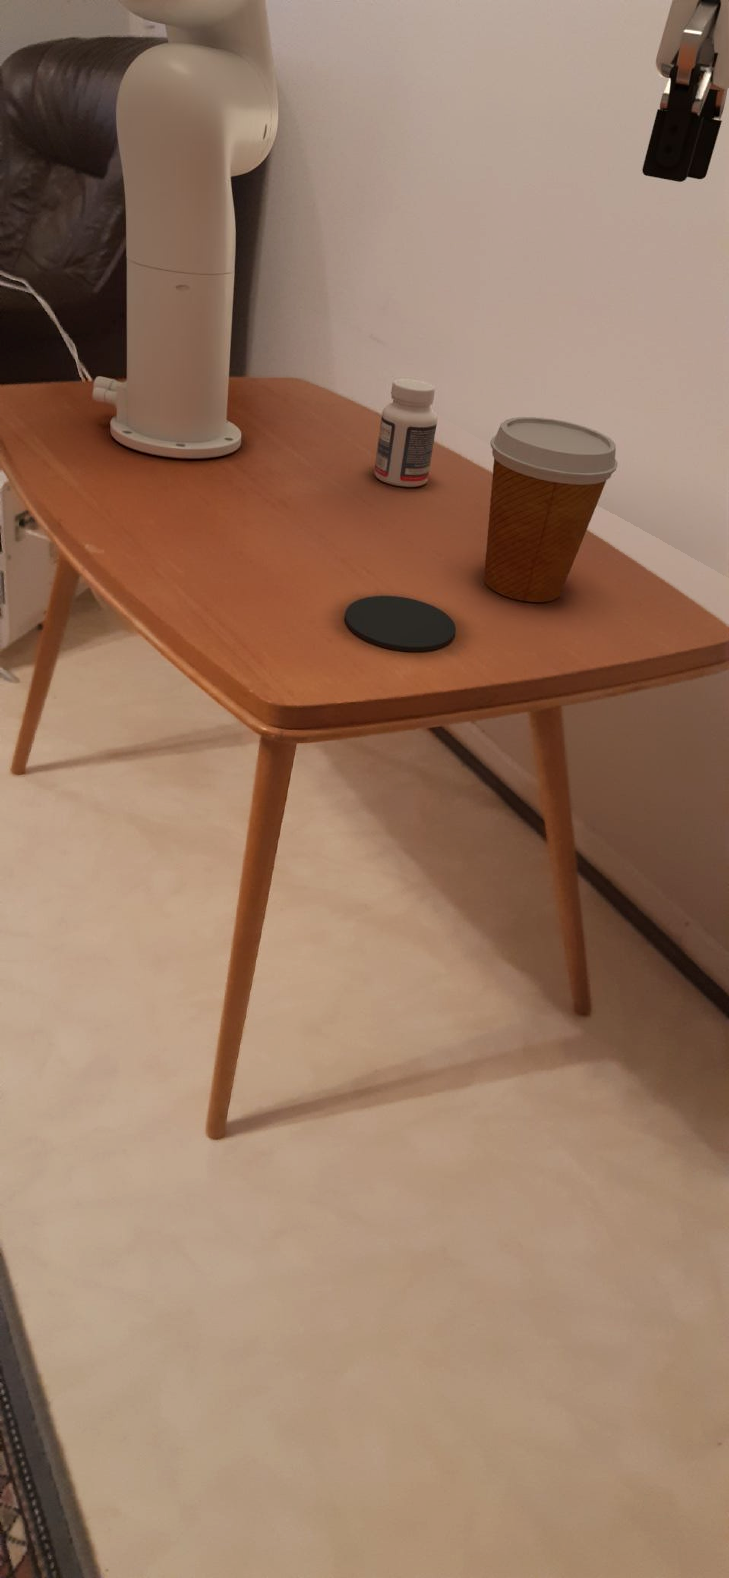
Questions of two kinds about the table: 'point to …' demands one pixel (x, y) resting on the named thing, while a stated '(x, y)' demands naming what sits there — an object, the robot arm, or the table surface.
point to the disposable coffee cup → (542, 503)
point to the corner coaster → (400, 623)
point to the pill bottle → (406, 434)
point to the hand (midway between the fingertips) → (674, 177)
